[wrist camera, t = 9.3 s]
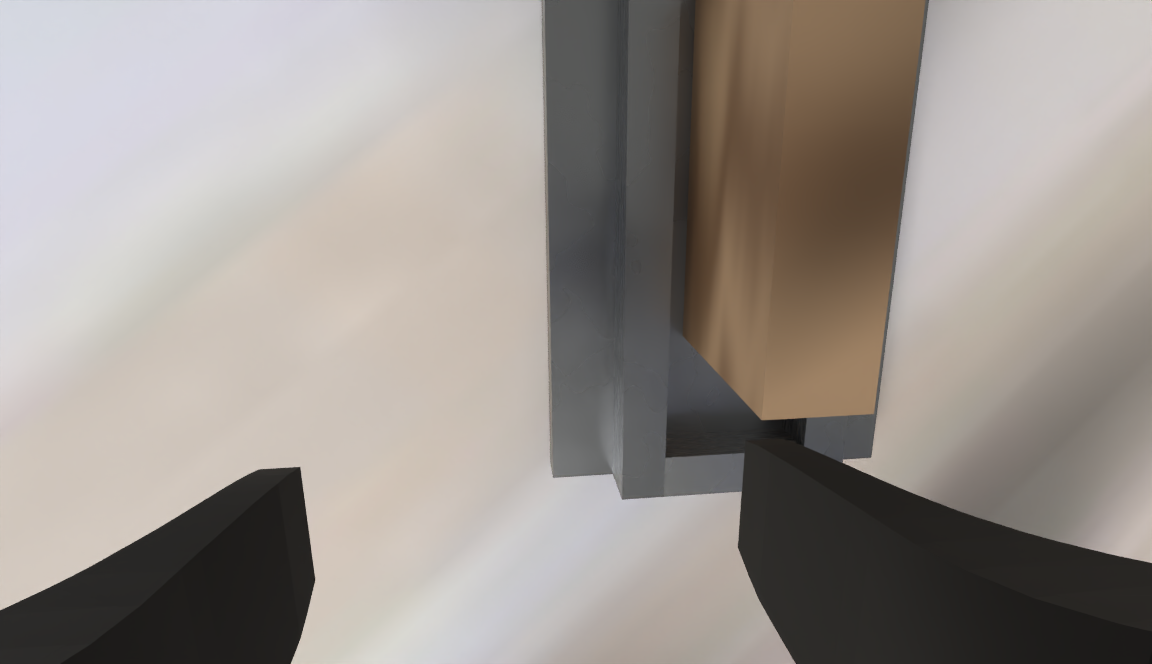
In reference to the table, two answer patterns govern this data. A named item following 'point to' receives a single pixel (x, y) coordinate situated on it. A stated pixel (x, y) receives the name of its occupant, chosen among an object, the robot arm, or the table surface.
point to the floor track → (640, 264)
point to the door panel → (797, 195)
